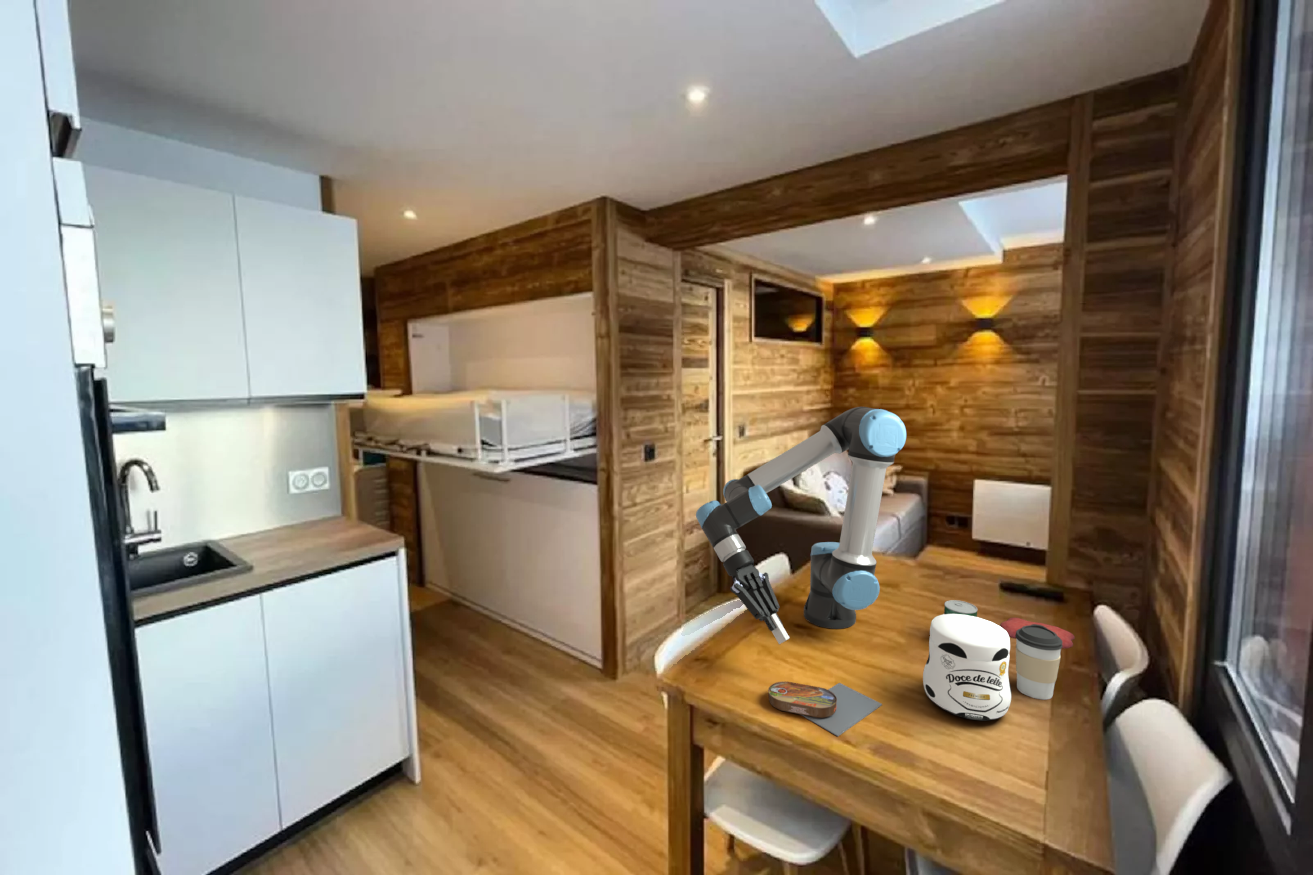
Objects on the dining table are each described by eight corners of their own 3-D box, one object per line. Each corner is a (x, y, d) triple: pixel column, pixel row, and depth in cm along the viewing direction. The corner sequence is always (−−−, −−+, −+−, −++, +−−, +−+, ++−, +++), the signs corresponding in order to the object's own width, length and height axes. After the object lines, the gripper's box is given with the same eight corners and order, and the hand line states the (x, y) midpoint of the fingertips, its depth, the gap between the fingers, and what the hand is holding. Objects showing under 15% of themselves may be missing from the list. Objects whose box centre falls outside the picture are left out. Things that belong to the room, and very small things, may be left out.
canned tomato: (979, 653, 148) (982, 613, 147) (947, 650, 150) (949, 611, 148) (969, 638, 156) (971, 601, 154) (938, 636, 157) (940, 599, 156)
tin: (839, 690, 126) (834, 708, 119) (839, 704, 127) (834, 723, 119) (773, 678, 133) (764, 694, 125) (773, 691, 133) (764, 708, 125)
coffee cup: (1059, 707, 125) (1065, 643, 123) (1011, 694, 129) (1016, 633, 127) (1056, 687, 132) (1061, 627, 130) (1011, 676, 137) (1015, 618, 135)
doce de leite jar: (969, 736, 115) (975, 654, 113) (905, 691, 131) (908, 618, 129) (1028, 717, 121) (1035, 639, 119) (959, 677, 137) (964, 607, 135)
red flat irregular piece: (997, 636, 158) (997, 629, 158) (1002, 618, 169) (1003, 611, 169) (1074, 654, 148) (1074, 647, 148) (1074, 634, 159) (1075, 627, 159)
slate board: (794, 711, 124) (794, 710, 124) (839, 683, 135) (839, 682, 135) (837, 736, 116) (837, 735, 116) (881, 705, 126) (882, 703, 126)
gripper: (742, 557, 152) (790, 638, 142) (709, 568, 144) (758, 655, 133) (758, 543, 147) (810, 626, 137) (725, 554, 139) (777, 643, 129)
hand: (784, 641), depth 135 cm, fingers closed
